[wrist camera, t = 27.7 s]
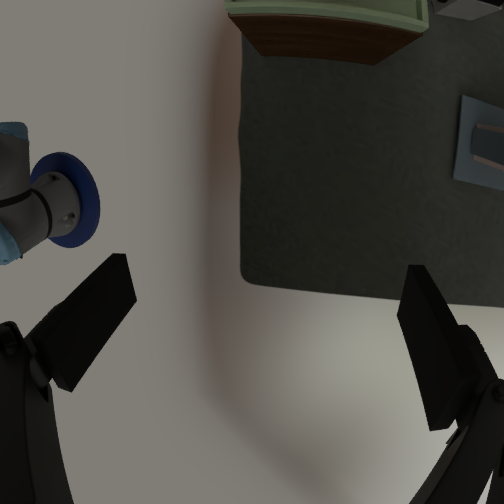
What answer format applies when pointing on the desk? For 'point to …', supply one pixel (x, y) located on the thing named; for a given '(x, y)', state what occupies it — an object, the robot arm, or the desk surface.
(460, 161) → the desk lamp
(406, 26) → the tray
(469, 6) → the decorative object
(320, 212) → the desk surface
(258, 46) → the plinth
